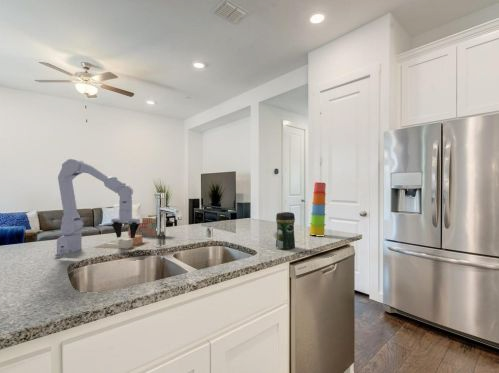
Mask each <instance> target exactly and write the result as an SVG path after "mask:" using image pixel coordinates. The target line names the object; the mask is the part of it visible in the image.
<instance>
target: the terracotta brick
mask: <svg viewBox="0 0 499 373" xmlns="http://www.w3.org/2000/svg"><path fill="white" fill-rule="evenodd" d="M128 238H131V235H129V237H128ZM142 242H143V236H142V235H135V237H134V238H133V244H136V245H138V244H140V243H142Z"/></svg>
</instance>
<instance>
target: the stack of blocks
mask: <svg viewBox="0 0 499 373" xmlns="http://www.w3.org/2000/svg"><path fill="white" fill-rule="evenodd" d="M156 217H157V216H144V217H142V218H141V220H140V225H139V226H138V228H137V231H136V234H135V235H142V237H146V236H147V237H157V236H156V235H157V231H156ZM129 224H132V223H127V226H128V227H127V228H128V229H127V230H128V231H127V233H128V236H131V231H130V226H129Z"/></svg>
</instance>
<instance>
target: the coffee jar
mask: <svg viewBox="0 0 499 373" xmlns="http://www.w3.org/2000/svg"><path fill="white" fill-rule="evenodd" d="M275 217H276V218H275V221H276V230H277V231H276V240H275V247H276V248H277V247H278V248H281V249H280V250H284V249H286V250H290V249H289V248H291V249H294V248H295V246H296V240H295V239H296V238H295V229H294V228H295V220H296V219H295V218H296V217H295V214H294V212H289V211H285V212H284V211H282V212H278V213H276V216H275ZM293 247H294V248H293ZM278 248H277V249H278Z"/></svg>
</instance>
